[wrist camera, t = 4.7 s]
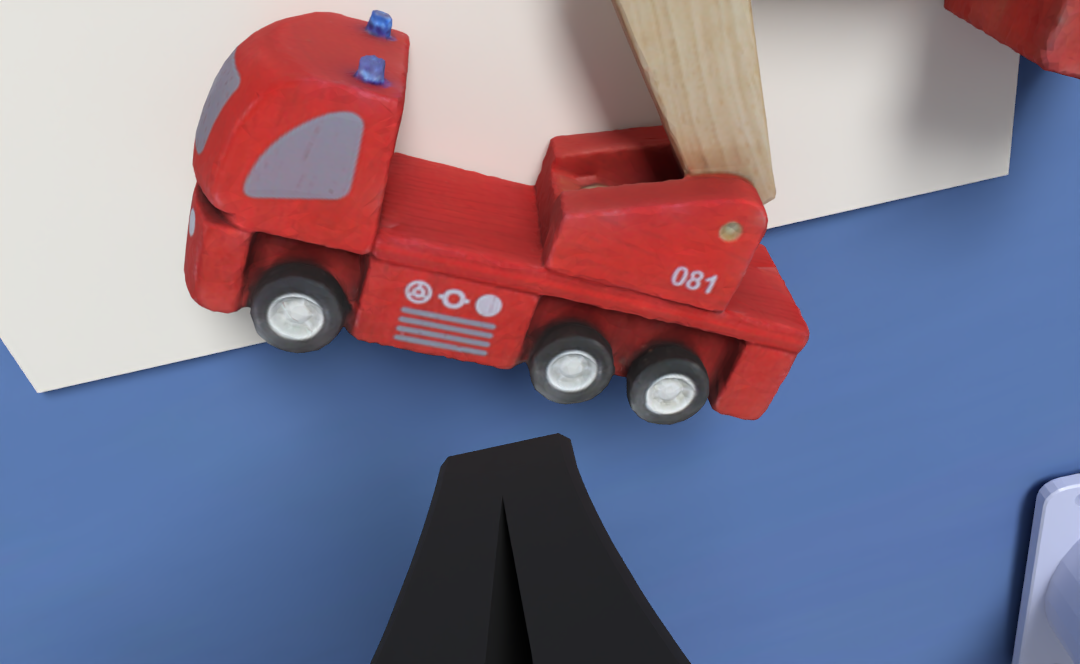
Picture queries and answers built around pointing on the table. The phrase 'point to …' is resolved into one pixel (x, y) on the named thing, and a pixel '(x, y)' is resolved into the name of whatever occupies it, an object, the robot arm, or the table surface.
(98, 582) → the table surface
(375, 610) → the table surface
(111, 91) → the mat
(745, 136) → the toy fire truck
